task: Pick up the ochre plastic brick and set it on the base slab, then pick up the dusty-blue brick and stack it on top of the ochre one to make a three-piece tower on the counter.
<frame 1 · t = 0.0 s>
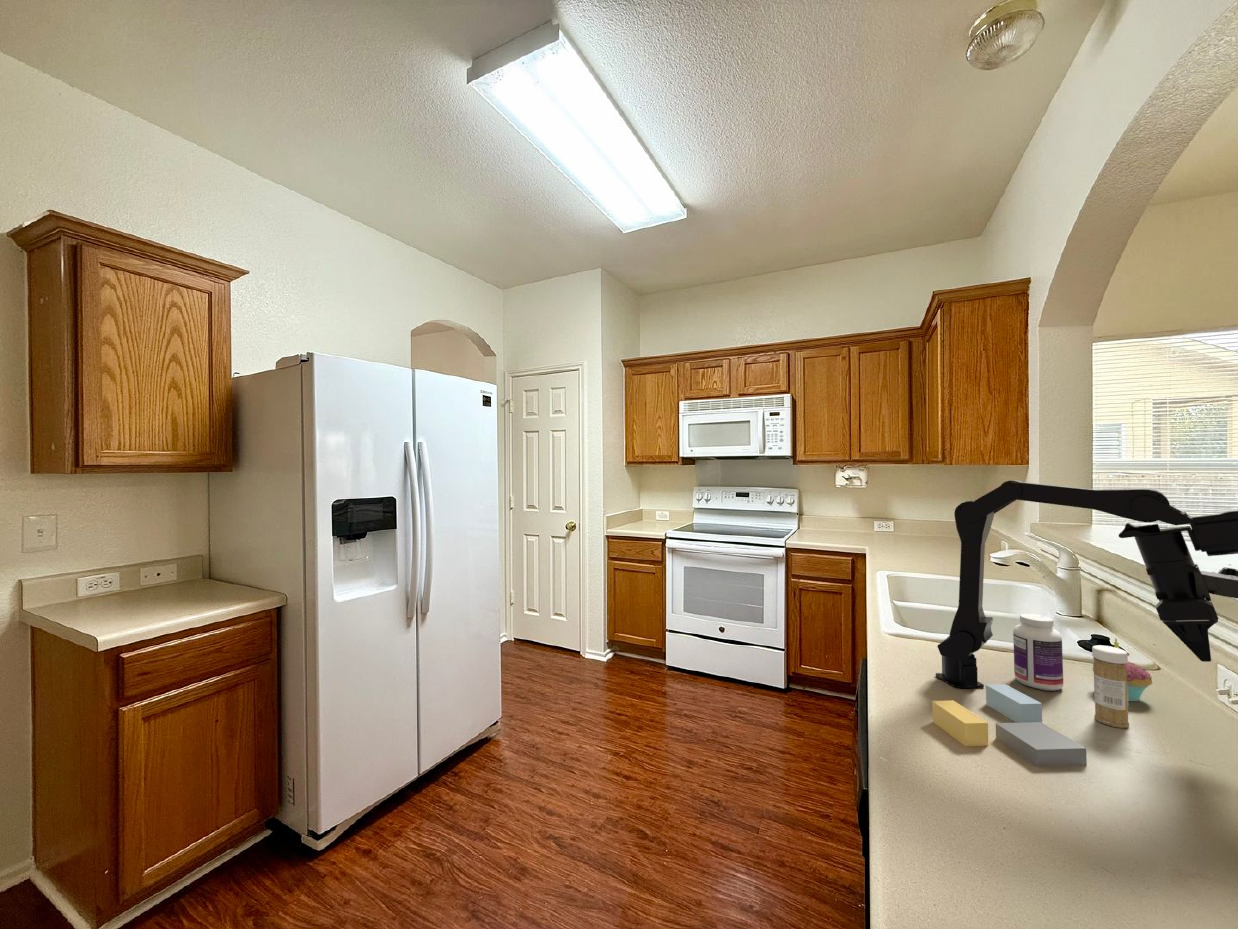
hand: (1204, 654, 81), 15 cm above the counter, tool pointing down, fingers open, 9 cm apart
base slab: (1039, 753, 80), on the counter
sprinkles bottle: (1111, 723, 89), on the counter
ochre brick: (959, 734, 86), on the counter
cupcake: (1121, 696, 100), on the counter
blue brick: (1013, 715, 93), on the counter
pill bottle: (1038, 685, 105), on the counter
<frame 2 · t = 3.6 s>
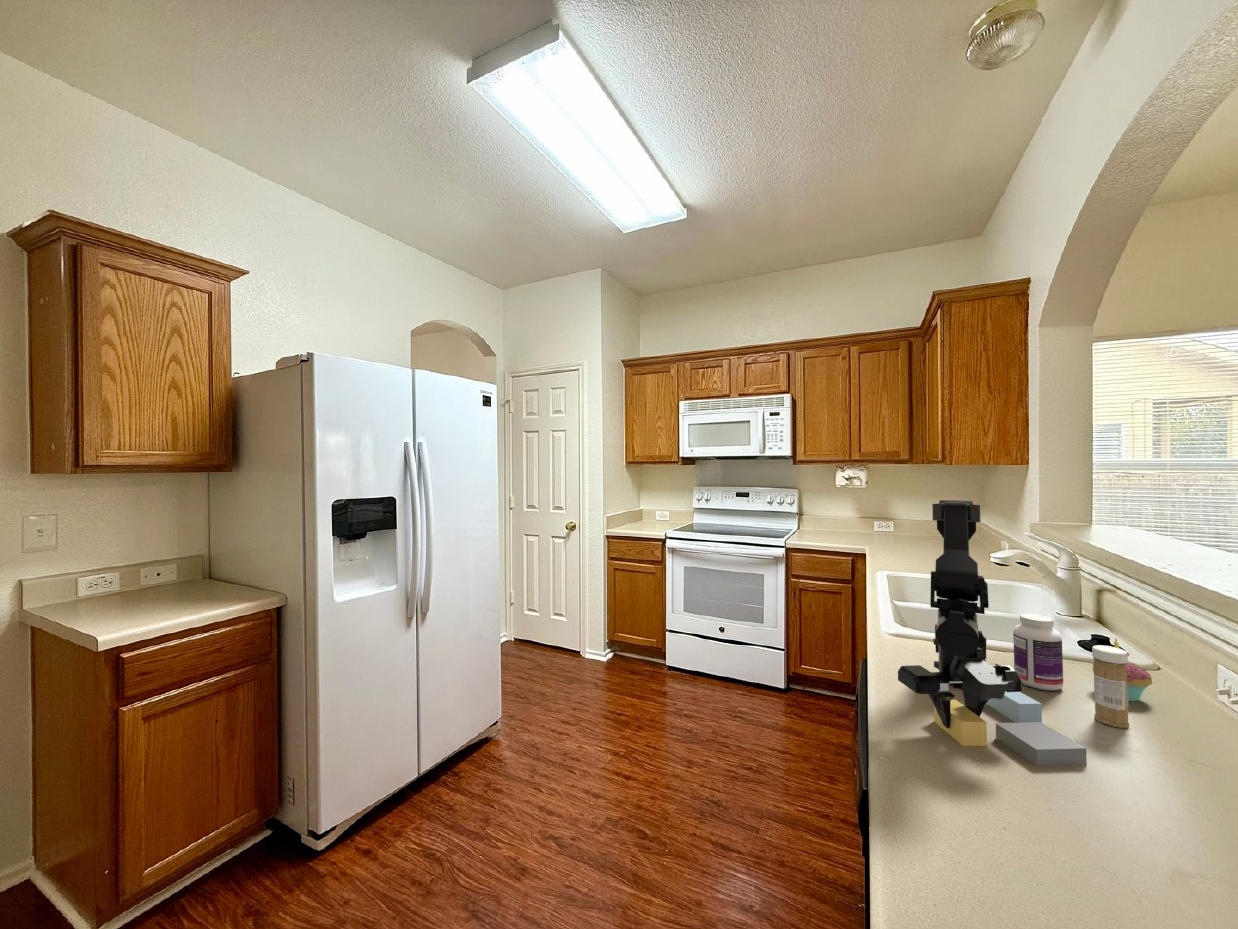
hand: (959, 727, 86), 1 cm above the counter, tool pointing down, fingers closed on ochre brick, 4 cm apart
ochre brick: (959, 733, 86), on the counter, touching gripper
everything else where it was.
when the fingers open (5 cm above the counter, at t = 6.8 s): ochre brick drops 1 cm, resting on base slab.
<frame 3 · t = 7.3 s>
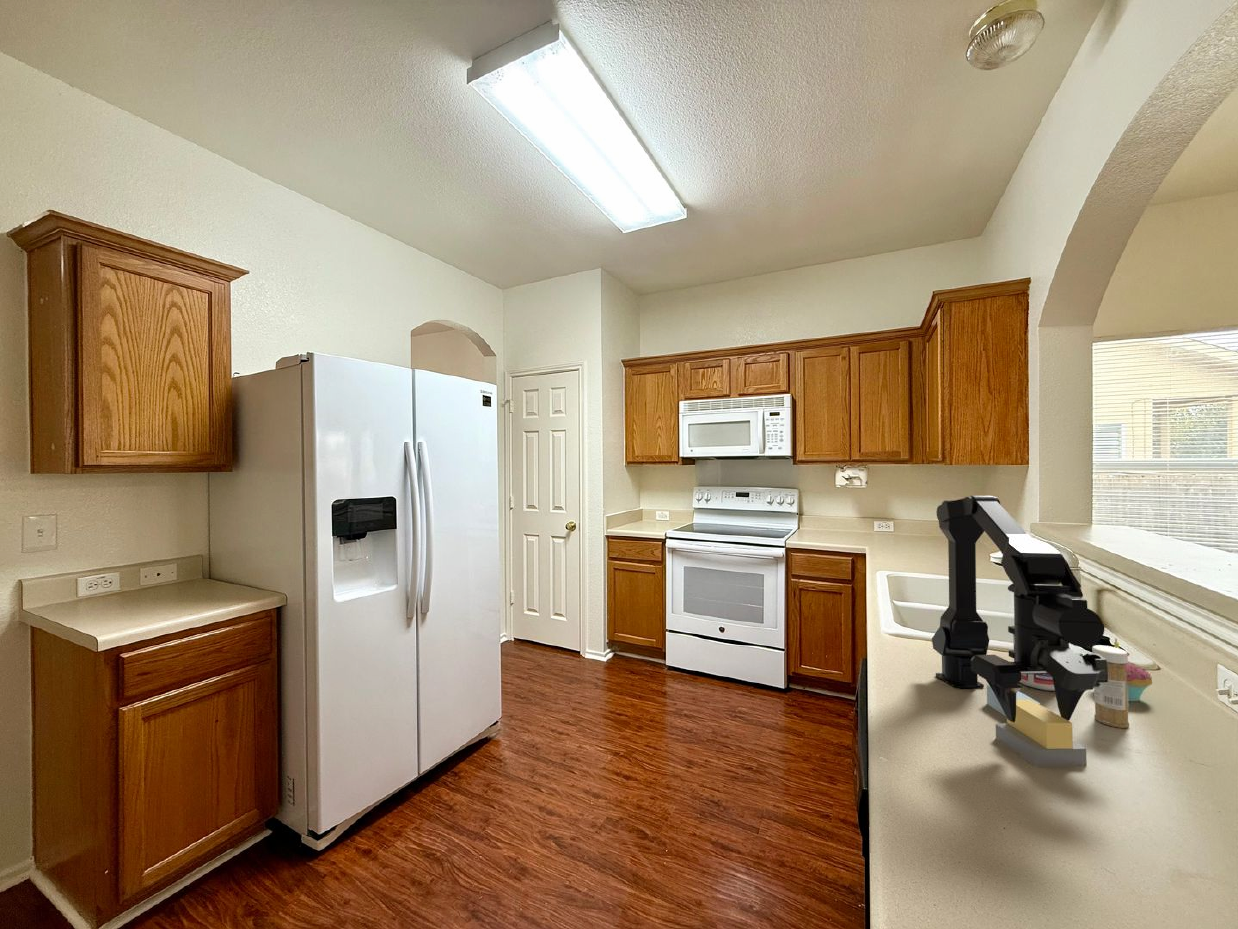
hand: (1038, 720, 80), 5 cm above the counter, tool pointing down, fingers open, 9 cm apart
base slab: (1039, 754, 80), on the counter, touching ochre brick
ochre brick: (1038, 735, 80), point 3 cm above the counter, touching base slab
everything else where it was.
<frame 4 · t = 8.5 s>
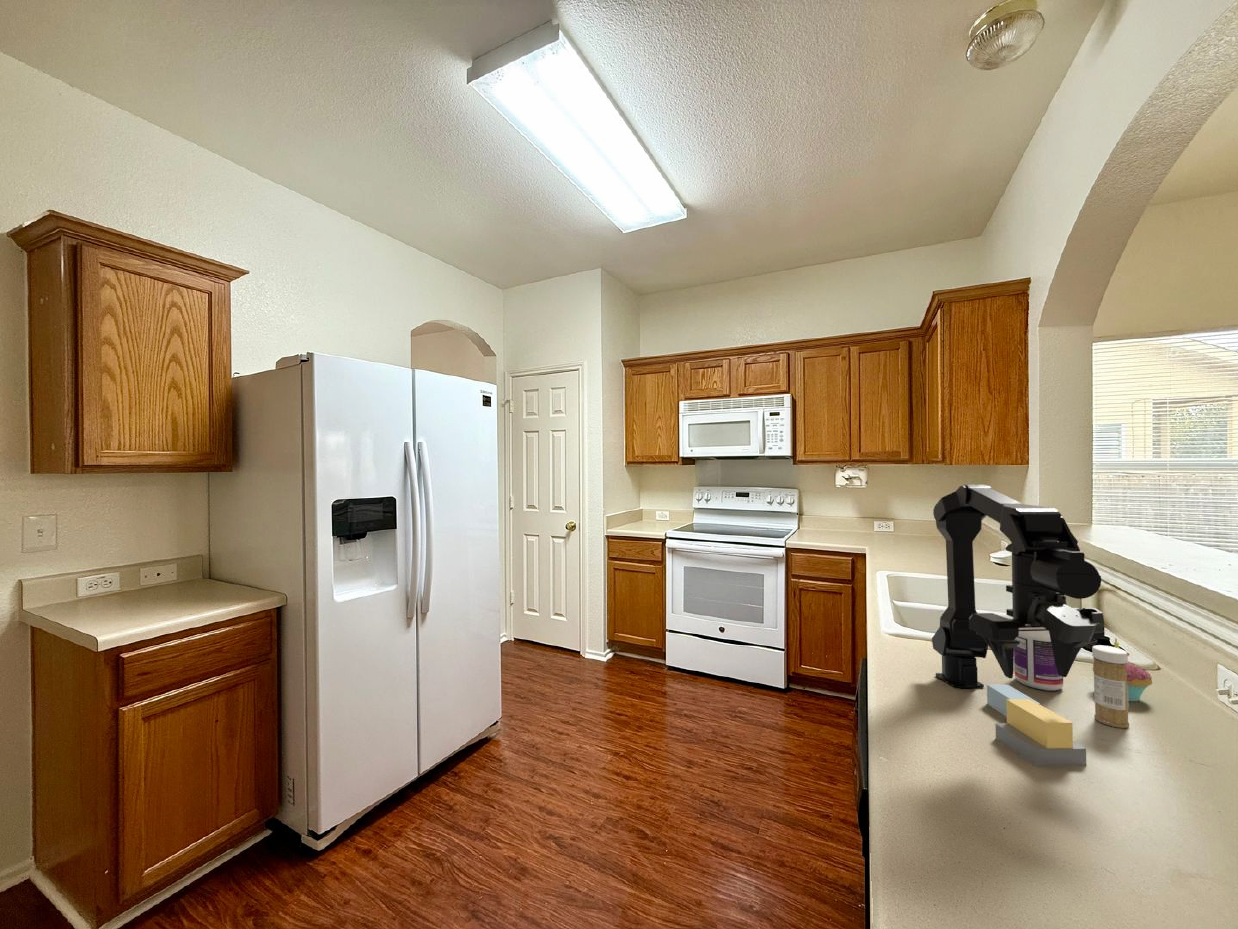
hand: (1035, 676, 81), 12 cm above the counter, tool pointing down, fingers open, 9 cm apart
nothing on the counter moved.
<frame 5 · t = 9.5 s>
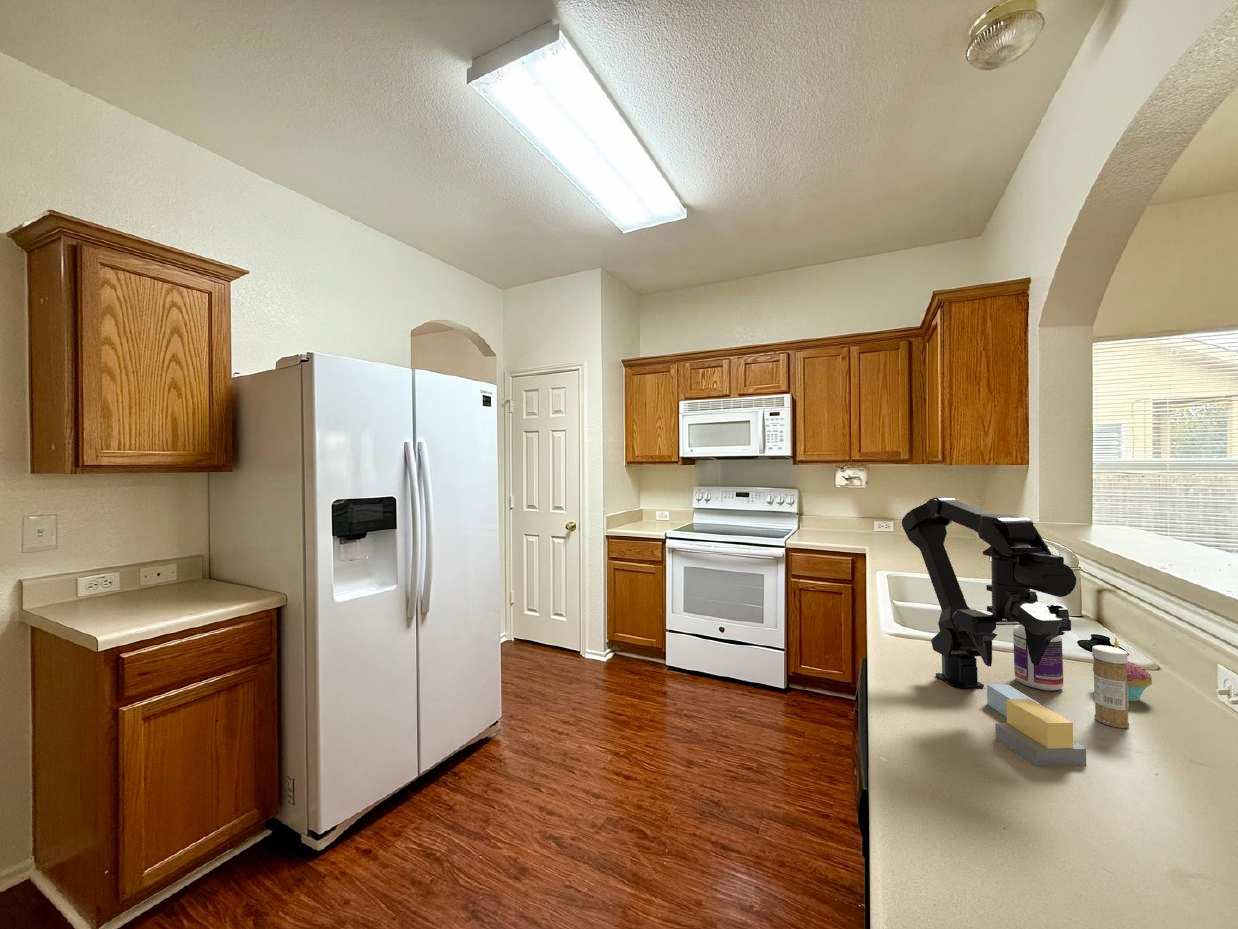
hand: (1011, 665, 93), 9 cm above the counter, tool pointing down, fingers open, 9 cm apart
nothing on the counter moved.
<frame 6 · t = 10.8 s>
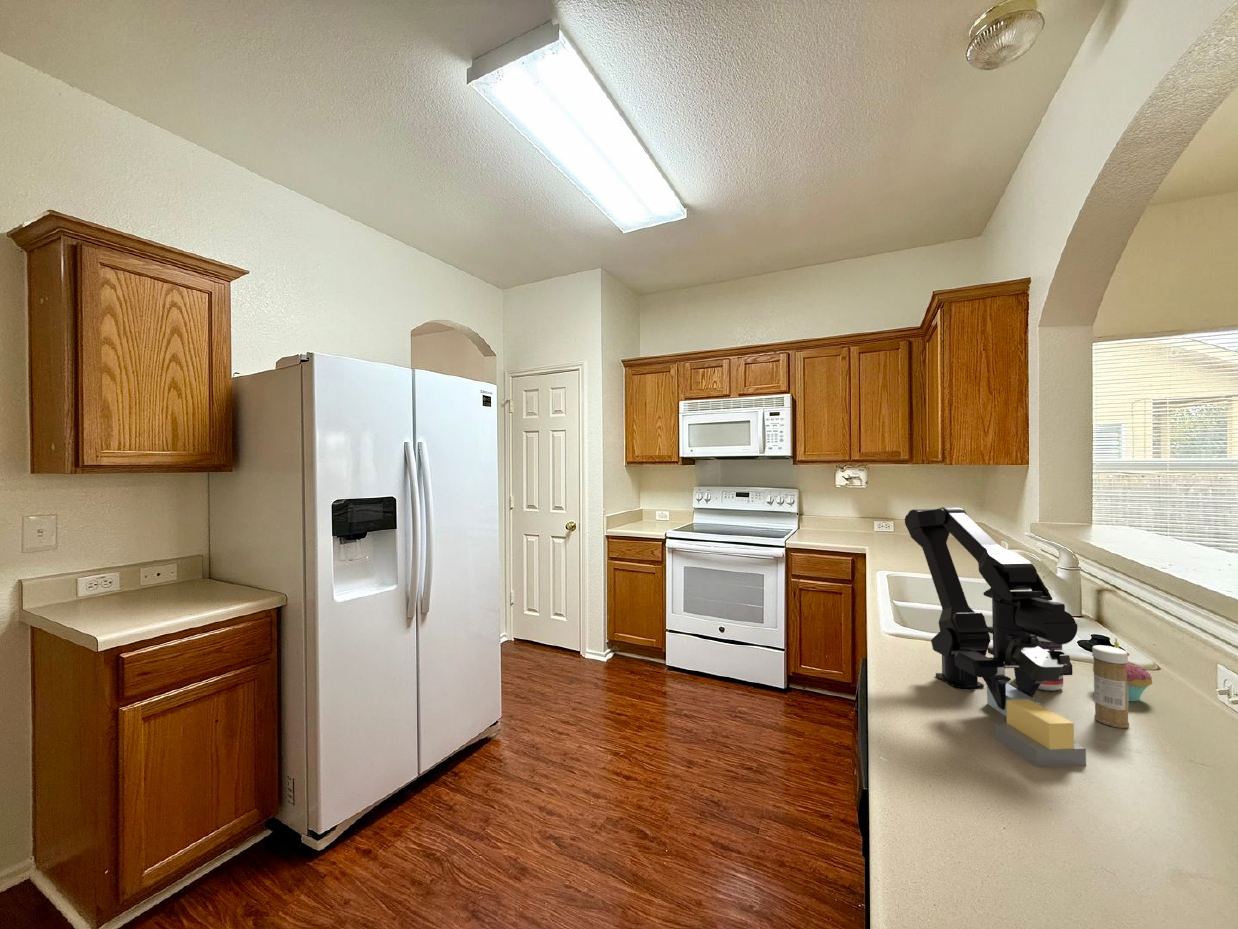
hand: (1013, 708, 93), 1 cm above the counter, tool pointing down, fingers closed on blue brick, 4 cm apart
blue brick: (1013, 714, 93), on the counter, touching gripper
everything else where it was.
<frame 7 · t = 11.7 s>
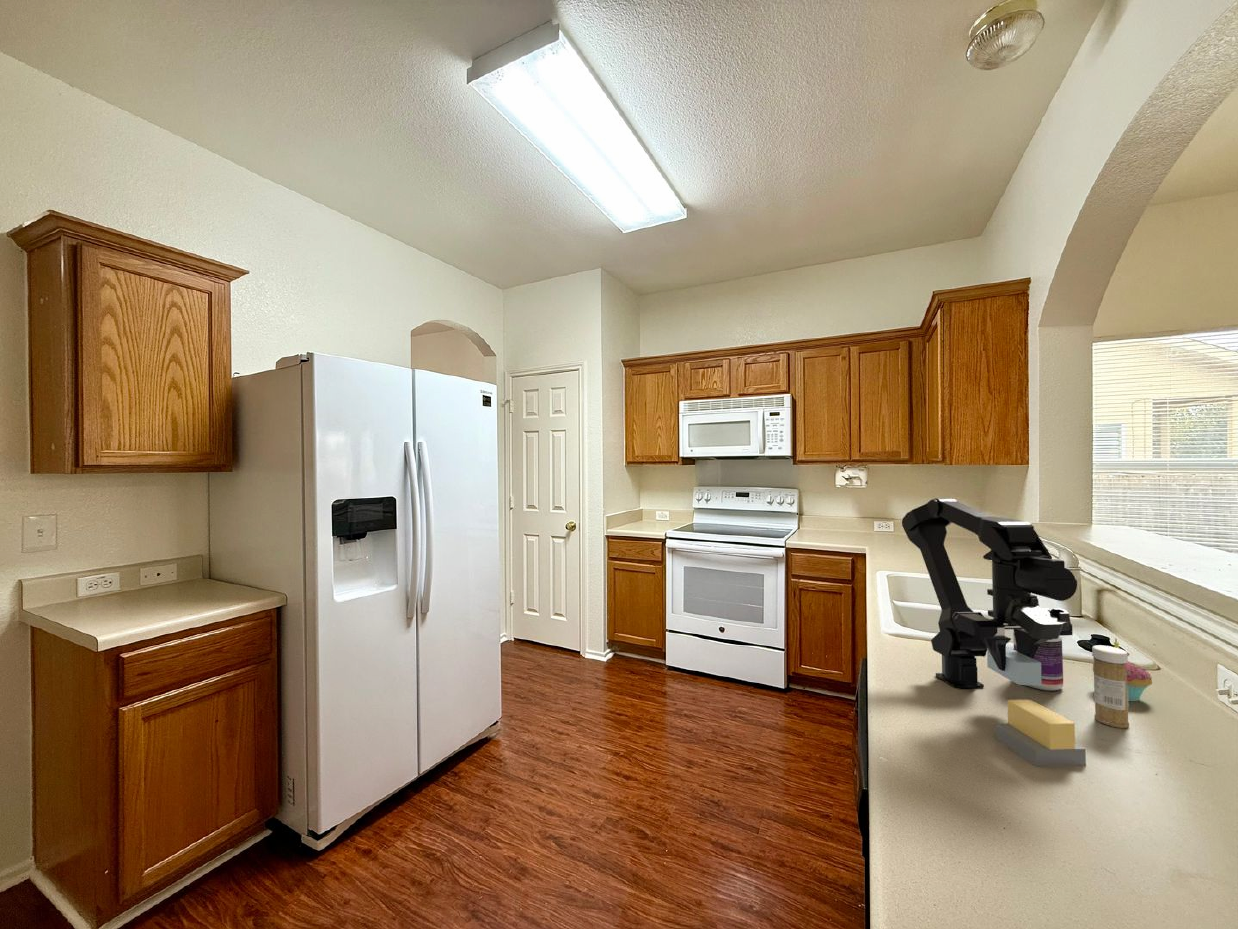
hand: (1013, 669, 92), 8 cm above the counter, tool pointing down, fingers closed on blue brick, 4 cm apart
blue brick: (1013, 675, 92), point 7 cm above the counter, touching gripper
everything else where it was.
when the fingers open (9 cm above the counter, at t = 14.4 s): blue brick drops 1 cm, resting on ochre brick.
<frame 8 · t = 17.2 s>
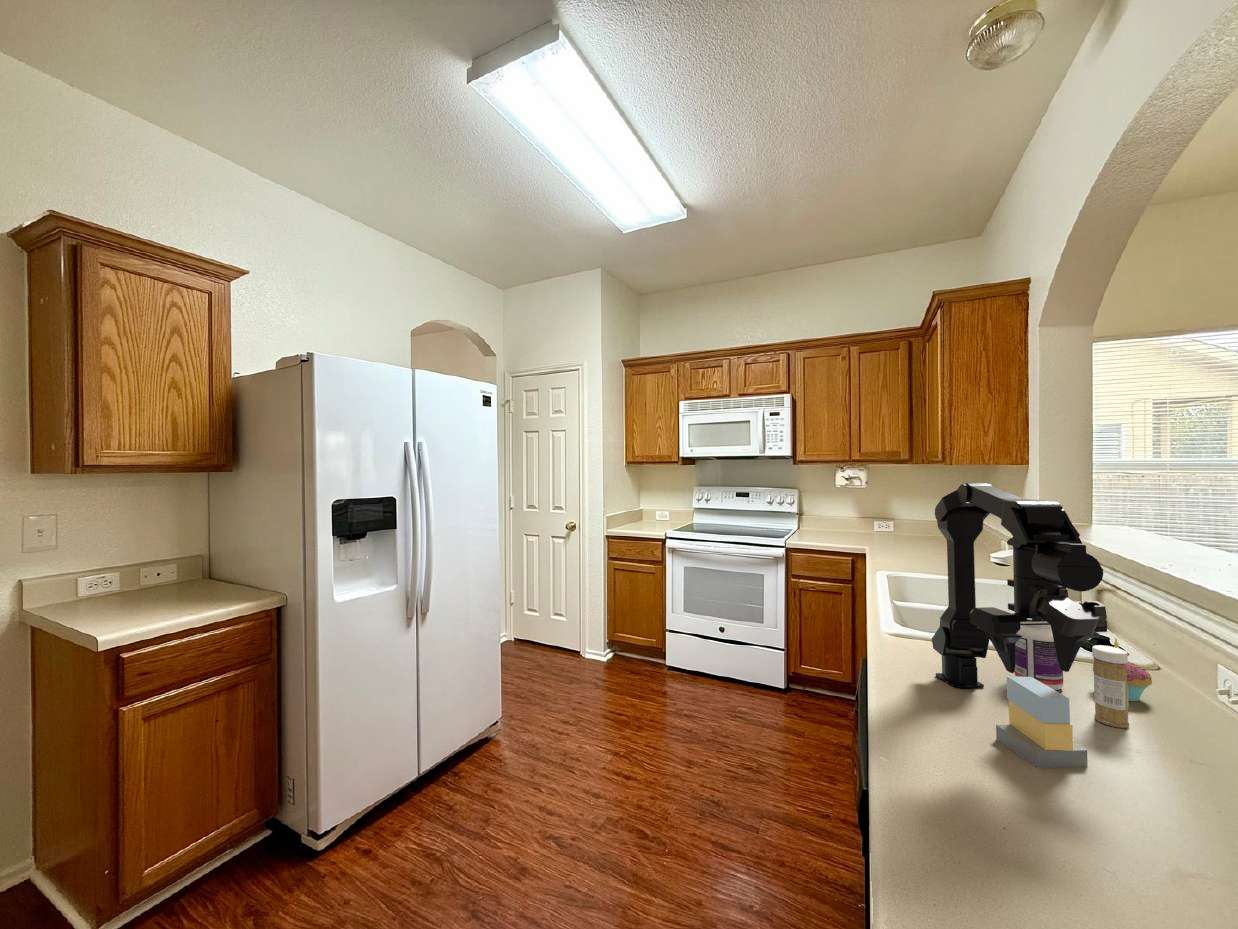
hand: (1037, 671, 81), 13 cm above the counter, tool pointing down, fingers open, 9 cm apart
ochre brick: (1039, 736, 80), point 3 cm above the counter, touching base slab, blue brick
blue brick: (1036, 711, 80), point 7 cm above the counter, touching ochre brick
everything else where it was.
at the end: ochre brick 0.1 cm off-centre on the base slab, point 3.0 cm above the base slab's base; blue brick 0.4 cm off-centre on the base slab, point 7.0 cm above the base slab's base; the gripper is holding nothing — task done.
